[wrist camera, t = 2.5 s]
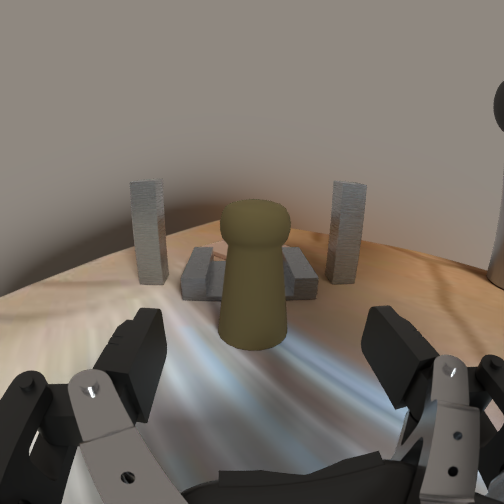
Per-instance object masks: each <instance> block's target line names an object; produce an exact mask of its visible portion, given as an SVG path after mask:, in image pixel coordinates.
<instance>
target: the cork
mask: <svg viewBox="0 0 504 504" xmlns="http://www.w3.org/2000/svg"><path fill="white" fill-rule="evenodd" d="M290 227H291V221H290V216H289V214H288V212H287V210H286V208H285V207H284V206H282V205H281V204H278V203H275V202H272V201H267V200H259V199H249V200H242V201H237V202H233V203H230V204H229V205H227V206H226V207H225V209H224V210H223V212H222V216H221V220H220V231H221V235H222V238H223V239H224V241H225V242H226V243H227V245H228V249H227V257H226V266H225V274H224V283H223V291H222V300H221V309H220V318H219V328H218V333H219V335H220V337H221V339H222V340H224V341H225V342H226V343H227V344H229V345H231V346H233V347H235V348H238V349H243V350H264V349H268V348H272V347H274V346H276V345H278V344H280V343H281V342H282V341H283V340H284V339H285V337H286V334H287V315H286V298H285V283H284V269H283V255H282V246H283V244H284V243H285V242H286V240H287V239H288V236H289V233H290Z"/></svg>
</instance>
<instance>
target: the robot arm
mask: <svg viewBox="0 0 504 504" xmlns="http://www.w3.org/2000/svg"><path fill="white" fill-rule="evenodd" d="M494 115H495V119H496V121H497V124H498V125H499V127H500V128H501V130H502V131H504V81H503V82H502V83H501V84H500V86H499V87H498V89H497V91H496V94H495V98H494ZM487 277H488V279H489V280H490V281H491V282H493V283H494V284H496V285H497V286H499V287H501V288H503V289H504V176H503V190H502V199H501V207H500V215H499V221H498V227H497V232H496V237H495V242H494V247H493V251H492V255H491V260H490V263H489V267H488V271H487ZM361 348H362V352H363V354H364V356H365V358H366V359H367V361H368V363H369V364H370V366H371V368H372V370H373V371H374V373H375V375H376V376H377V378H378V380H379V382H380V383H381V385H382V387H383V389H384V390H385V392H386V394H387V396H388V397H389V399H390V401H391V403H392V405H393V406H394V408H395V410H396V409H399V408H403V407H406V406H407V407H408V409H409V410H408V411H407V413H406V415H405V419H404V422H403V426H402V430H401V433H400V437H399V440H398V444H397V447H396V450H395V453H394V455H393V457H392V458H391V460H382V458H381V455H380V453H379V451H376V452H373V453H369V454H365V455H361V456H357V457H353V458H349V459H344V460H342V461H340V462H337V463H335V464H333V465H331V466H328V467H326V468H323V469H321V470H318V471H316V472H313V473H311V474H307V475H297V474H286V473H278V472H270V471H263V470H257V471H219V480H215V481H210V482H206V483H202V484H199V485H197V486H194V487H191V488H189V489H187V490H185V491H183V492H182V493H179V491H178V490H177V489H176V487H175V486H174V485H173V484H172V482H171V481H170V479H169V478H168V477H167V475H166V474H165V472H164V471H163V470H162V468H161V467H160V465H159V464H158V462H157V461H156V459H155V458H154V456H153V455H152V453H151V452H150V450H149V448H148V447H147V445H146V443H145V442H144V440H143V439H142V437H141V435H140V433H139V432H138V430H137V428H136V427H135V424H136V422H141V423H147V422H148V418H149V414H150V411H151V407H152V404H153V400H154V397H155V393H156V390H157V386H158V383H159V379H160V376H161V373H162V369H163V366H164V363H165V360H166V355H167V342H166V336H165V330H164V324H163V317H162V312H161V310H160V309H155V308H140V309H139V310H138V312H137V314H136V316H135V317H134V319H133V320H126V321H125V322H124V323H122V324H121V325H119V326H118V327H117V329H116V330H115V332H114V334H113V335H112V337H111V338H110V340H109V342H108V344H107V345H106V347H105V348H104V350H103V352H102V353H101V355H100V357H99V358H98V360H97V362H96V364H95V365H94V367H93V369H89V370H84V371H81V372H79V373H77V374H76V375H75V376H73V377H72V379H71V380H70V382H69V384H48V383H47V381H46V379H45V377H44V376H43V375H42V374H41V373H40V372H37V371H26V372H23V373H21V374H19V375H18V376H17V377H16V378H15V379H14V380H13V381H12V383H11V384H10V386H9V387H8V389H7V390H6V392H5V394H4V395H3V397H2V398H1V400H0V504H61V503H62V499H63V495H64V491H65V487H66V484H67V480H68V476H69V473H70V469H71V466H72V463H73V459H74V456H75V453H76V450H77V447H78V446H80V448H81V451H82V454H83V457H84V459H85V462H86V465H87V467H88V469H89V472H90V474H91V476H92V479H93V481H94V483H95V485H96V488H97V490H98V492H99V494H100V496H101V498H102V500H103V502H104V504H504V424H503V426H502V428H501V429H500V430H499V431H498V432H497V430H496V428H495V427H494V425H493V424H492V422H491V421H490V419H489V418H488V416H487V415H486V413H485V412H484V410H485V409H486V407H487V406H488V404H489V403H490V401H491V400H492V399H493V400H494V402H495V403H496V404H497V406H498V407H499V409H500V410H501V412H502V413H503V415H504V360H503V359H501V358H500V357H498V356H495V355H485V356H484V357H483V358H482V360H481V362H480V364H479V366H478V367H466V365H465V364H464V363H463V362H462V361H461V360H460V359H458V358H457V357H454V356H451V355H441V356H440V355H439V354H438V352H437V351H436V350H435V349H434V348H433V347H432V346H431V345H430V343H429V342H428V341H427V340H426V339H425V338H424V337H422V335H421V334H420V332H419V331H417V329H416V328H415V327H414V326H413V325H412V324H411V323H410V322H409V321H407V320H406V319H404V318H402V317H401V316H399V315H398V314H397V313H396V312H395V311H394V309H393V308H392V307H391V306H388V305H387V306H375V307H371V308H370V310H369V313H368V317H367V321H366V325H365V328H364V332H363V336H362V340H361ZM37 430H38V432H39V435H38V437H37V439H36V442H35V444H34V446H33V449H32V451H31V454H30V456H29V448H30V446H31V443H32V441H33V439H34V436H35V434H36V432H37ZM478 471H479V473H480V475H481V477H482V479H483V481H484V483H485V485H486V487H487V490H488V493H487V494H486V495H485V496H484V495H481V494H479V493H476V492H475V488H476V481H477V473H478Z"/></svg>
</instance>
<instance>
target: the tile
mask: <svg viewBox="0 0 504 504" xmlns="http://www.w3.org/2000/svg"><path fill="white" fill-rule="evenodd" d="M201 247H213V254H214V255H215V256H218V257H220V258H223V259H226V257H227V249H228V245H227V243H226V242H225V241H224V240H222V241H218V242H215V243H211V244H208V245H204V246H201ZM282 247H290V246H286V245H283V246H282Z"/></svg>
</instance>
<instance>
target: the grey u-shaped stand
mask: <svg viewBox="0 0 504 504" xmlns="http://www.w3.org/2000/svg"><path fill="white" fill-rule="evenodd" d="M366 189H367V185H364V184H360V183H356V182H345V181H334V184H333V199H332V212H331V224H330V235H329V244H328V253H327V262H326V270H325V275H326V276H327V278H328V279H329V280H330V282H331V283H332V284H349V283H354V282H355V277H356V271H357V264H358V258H359V251H360V244H361V237H362V228H363V220H364V209H365V200H366ZM130 194H131V210H132V223H133V233H134V243H135V252H136V260H137V267H138V274H139V281H140V284H149V285H164V283H165V281H166V279H167V277H168V275H169V270H168V259H167V248H166V235H165V219H164V200H163V179H147V180H137V181H133V182H130ZM282 255H283V269H284V283H285V298H286V300H305V299H316V295H317V287H318V279H319V278H318V276H317V274H316V273H315V271H314V270H313V268H312V267H311V265H310V264H309V262H308V261H307V259H306V258H305V256H304V254H303V253H302V251H301V250H300V248H299V247H282ZM225 266H226V261H214V254H213V247H195V248H194V250H193V252H192V254H191V257H190V259H189V261H188V263H187V265H186V268H185V270H184V272H183V274H182V277H181V286H182V296H183V300H203V301H221V300H222V291H223V283H224V274H225Z"/></svg>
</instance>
